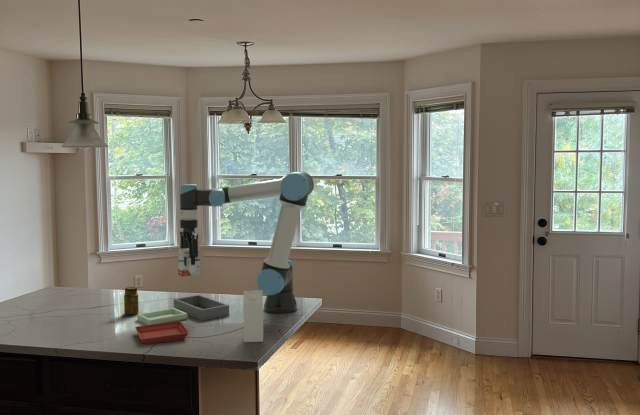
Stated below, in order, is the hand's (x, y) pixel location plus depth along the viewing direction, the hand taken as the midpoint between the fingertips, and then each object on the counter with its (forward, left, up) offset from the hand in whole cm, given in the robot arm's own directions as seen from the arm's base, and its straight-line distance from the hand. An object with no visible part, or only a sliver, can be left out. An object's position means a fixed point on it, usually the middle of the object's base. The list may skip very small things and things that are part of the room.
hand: (189, 270), depth 264 cm
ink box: (0, 0, -2) cm, 2 cm away
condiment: (+16, +21, -20) cm, 33 cm away
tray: (-1, +14, -19) cm, 24 cm away
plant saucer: (-24, +25, -20) cm, 40 cm away
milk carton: (-51, 0, -20) cm, 55 cm away
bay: (0, -5, -19) cm, 20 cm away
